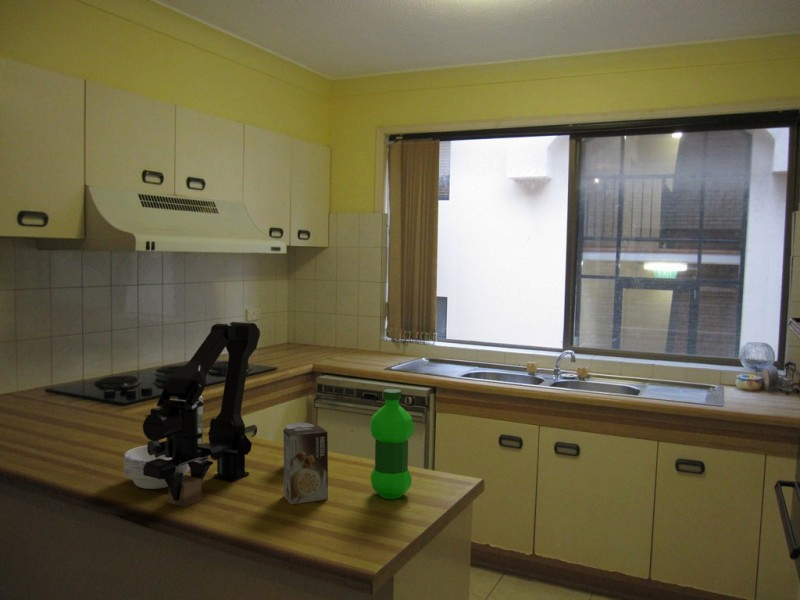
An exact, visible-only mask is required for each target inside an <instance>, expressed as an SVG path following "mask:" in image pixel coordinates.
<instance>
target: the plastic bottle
mask: <svg viewBox="0 0 800 600" xmlns="http://www.w3.org/2000/svg"><path fill="white" fill-rule="evenodd" d="M383 399H384V400H385V404H384V405H383V406H381V408H379V409H377V411H376V412H374V413H373V414H372V416H371V418H370V421H369V427H370V432H371V436H372V438H373V439H374V446H375V447H374V468H373V469H372V471H371V473H370V483H371V487H372V489H373V490H374V492H375V493H377V494H378V495H379V497H381V498H383V499H387V500H394V499H399V498H401V497H402V495H404V494H405V493H406V492H407V491H409V489H410V488H411V486H412V476H411V472H410V470H409V466H408V465H409V463H408V462H409V440H410V439H411V438H412V436H413V434H414V429H415V423H414V421H413V418H412V415H411V414H410V413H409V412H407V411H406V410H405V409H404V407H402V406H401V405H400V400H401V399H402V390H401V389H398V388H396V389H395V388H386V389H384V390H383Z"/></svg>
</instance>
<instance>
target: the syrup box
mask: <svg viewBox="0 0 800 600" xmlns="http://www.w3.org/2000/svg"><path fill="white" fill-rule="evenodd" d="M198 399H199V400H200V401H201V402H202V403H203V404H204V397H203V396H202V395H201V396H200V397H199V398H198ZM174 400H177V399H174ZM177 401H186V400H177ZM203 408H204V405H203V406H201V407H198V433H202V438H199V439H198V445H201V444H204V442H203V432H204V430H203V427H204V425H203V424H204V420H203V419H204V418H203V417H204V409H203Z"/></svg>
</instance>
